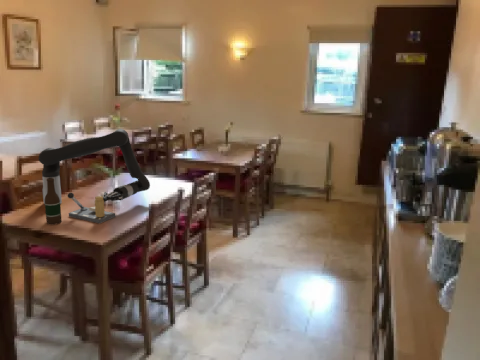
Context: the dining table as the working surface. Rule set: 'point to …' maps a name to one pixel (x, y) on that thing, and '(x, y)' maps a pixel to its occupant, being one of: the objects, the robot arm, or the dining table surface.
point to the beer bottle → (52, 204)
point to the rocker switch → (92, 209)
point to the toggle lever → (75, 200)
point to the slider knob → (99, 206)
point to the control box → (91, 215)
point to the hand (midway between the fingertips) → (101, 200)
